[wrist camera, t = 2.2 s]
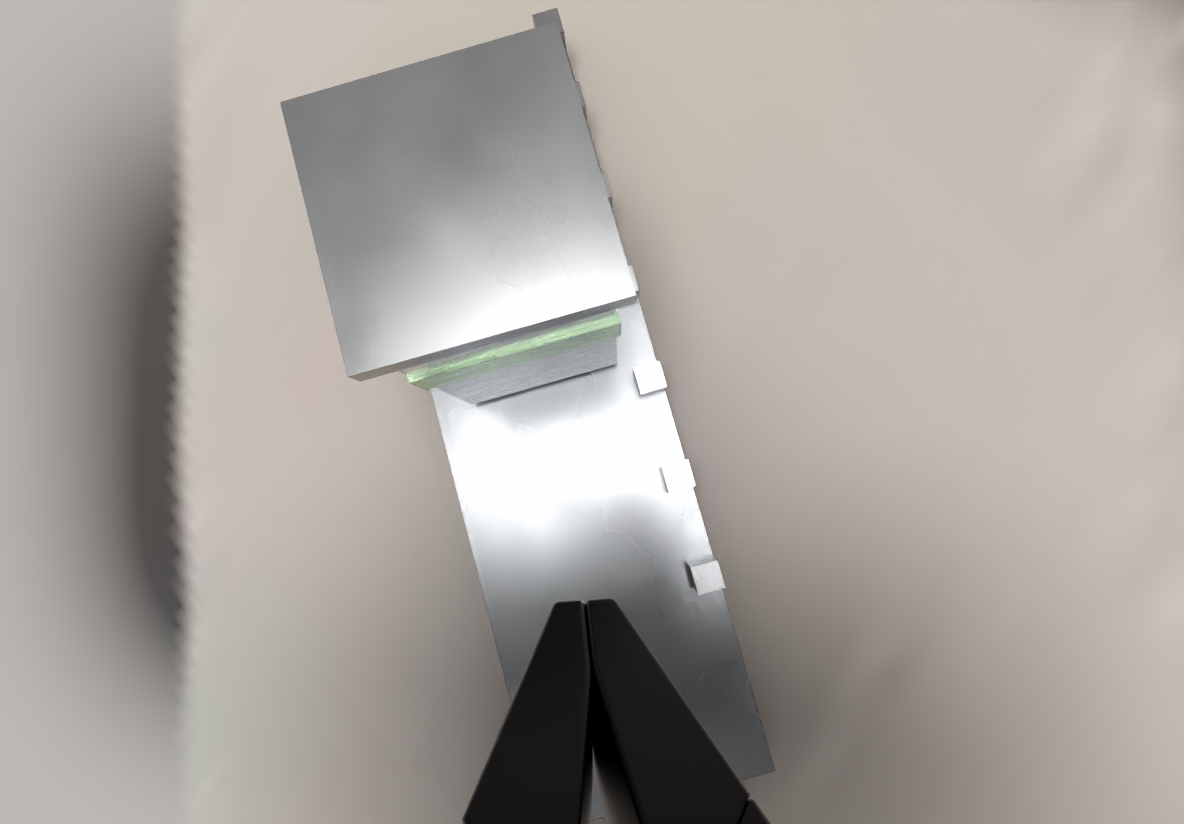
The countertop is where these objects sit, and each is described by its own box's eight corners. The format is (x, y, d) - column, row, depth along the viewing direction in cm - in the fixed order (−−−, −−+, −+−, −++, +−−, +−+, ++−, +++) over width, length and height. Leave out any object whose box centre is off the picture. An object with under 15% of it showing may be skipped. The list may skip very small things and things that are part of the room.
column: (630, 372, 21) (636, 294, 12) (465, 418, 21) (347, 376, 12) (584, 212, 22) (557, 21, 13) (423, 258, 22) (280, 102, 13)
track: (766, 754, 22) (799, 817, 18) (548, 813, 22) (532, 889, 18) (562, 47, 24) (550, -38, 20) (365, 104, 24) (315, 31, 20)
